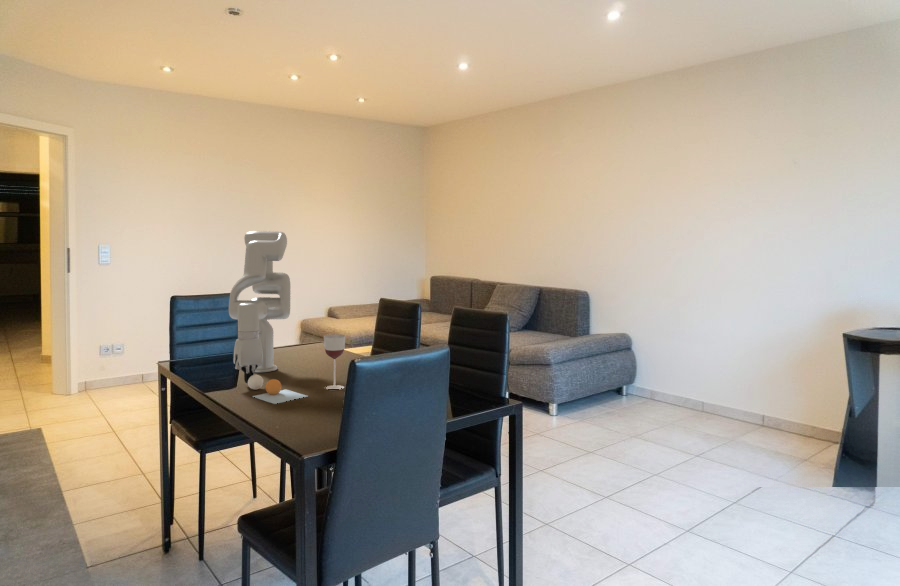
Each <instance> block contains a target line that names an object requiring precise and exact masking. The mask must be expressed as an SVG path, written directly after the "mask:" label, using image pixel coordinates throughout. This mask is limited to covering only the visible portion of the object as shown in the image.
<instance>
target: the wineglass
mask: <svg viewBox="0 0 900 586" xmlns="http://www.w3.org/2000/svg"><path fill="white" fill-rule="evenodd" d="M323 344H324V345H323V346H324V351H325V354H326V355H327V357H330V358H331V359H333V385H327V387H326V386H325V387H326V389H325V390H328V389H339V390H342V389H344V388H345V386H343V385H340V384H339V385H338V384H337V385H336V381H337V380H336V375H337V374H336V373H337V371H336V369H337V367H336V359H337V358H339V357H340V356H342V355H343V354H344V351H345V348H346V347H345V346H346V335H345V334H335V333H334V334H325V335H323ZM341 388H342V389H341Z"/></svg>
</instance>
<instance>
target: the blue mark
mask: <svg viewBox="0 0 900 586" xmlns="http://www.w3.org/2000/svg"><path fill="white" fill-rule="evenodd" d="M254 397H255V398H254ZM303 397H304V398H308V397H309V395H307V394H306V395H305V394H303V393H299V392H298V391H297V392H296V391H292V390H290V389H281V390H280V392H279V393H278V394H275V395H271V394H269V393H268V392H266V393H262V394H257V395H252V398H254V399H258V400H261V401H264V402H267V403H270V404H273V405H277V403H278V404H282V403H285V402H286V401H287V402H291V401H295V400H294V399H296V400H300V399H304V398H303ZM299 398H300V399H299ZM290 400H291V401H290Z"/></svg>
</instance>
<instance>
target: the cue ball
mask: <svg viewBox="0 0 900 586" xmlns="http://www.w3.org/2000/svg"><path fill="white" fill-rule="evenodd" d="M247 385H248V387H249V388H250V390H255V391H257V390H260V389H261V388H262V387H263V385H264V378H263V377H262V376H261V375H259V374H254V375H252V376H251V377H250V378H249V379H248V383H247Z"/></svg>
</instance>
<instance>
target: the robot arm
mask: <svg viewBox="0 0 900 586" xmlns="http://www.w3.org/2000/svg"><path fill="white" fill-rule="evenodd" d="M243 237H244V238H243V239H244V244H245V252H244V253H245V255H244V266H243V276H241V278H239V279H238V280H237V281H236V283H235V284H234V285H233V287H232V288H231V290H230V293H229V300H228V315H229V317H230V318H231V319H233V320H237V339H235V342H234V347H233V358H232V359H233V364H234V365H235V367H234V369H235V370H237V371H238V370H240V371H242V372H243V374H244V375H243V379H244V382H245V384H248V379H249V378H250V377H251V376H252V375H255V374H254V373H257V374H258V373H270V372H274V371H277V370H278V366H277V365H276V364H274V328H273V326H272V324H271V323H270V322H269V320H286V319H288V318H289V317H290V315H291V280H290V279H291V278H290V276H289V275H288V274H287V273H285V272H274V271H273V269H274V262H280V261H282V259H283V258H284V256H285V252H286V250H287V245H288V238H287V234H285V232H283V231H278V230H277V231H274V230H273V231H271V230H269V231H267V230H252V231H247V232H246V233H244V236H243ZM249 287H251V288H252V291H253V293H255V294H258V295H278V297H271V296H270V297H269V296H268V297H264V296H261V297H259V296H258V297H254V298H252V299H250V300H247V299H246V300H245V299H243V300H240V299H239V296H240V294H241V293H242V292H243V291H244V290H246V289H248V288H249Z"/></svg>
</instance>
